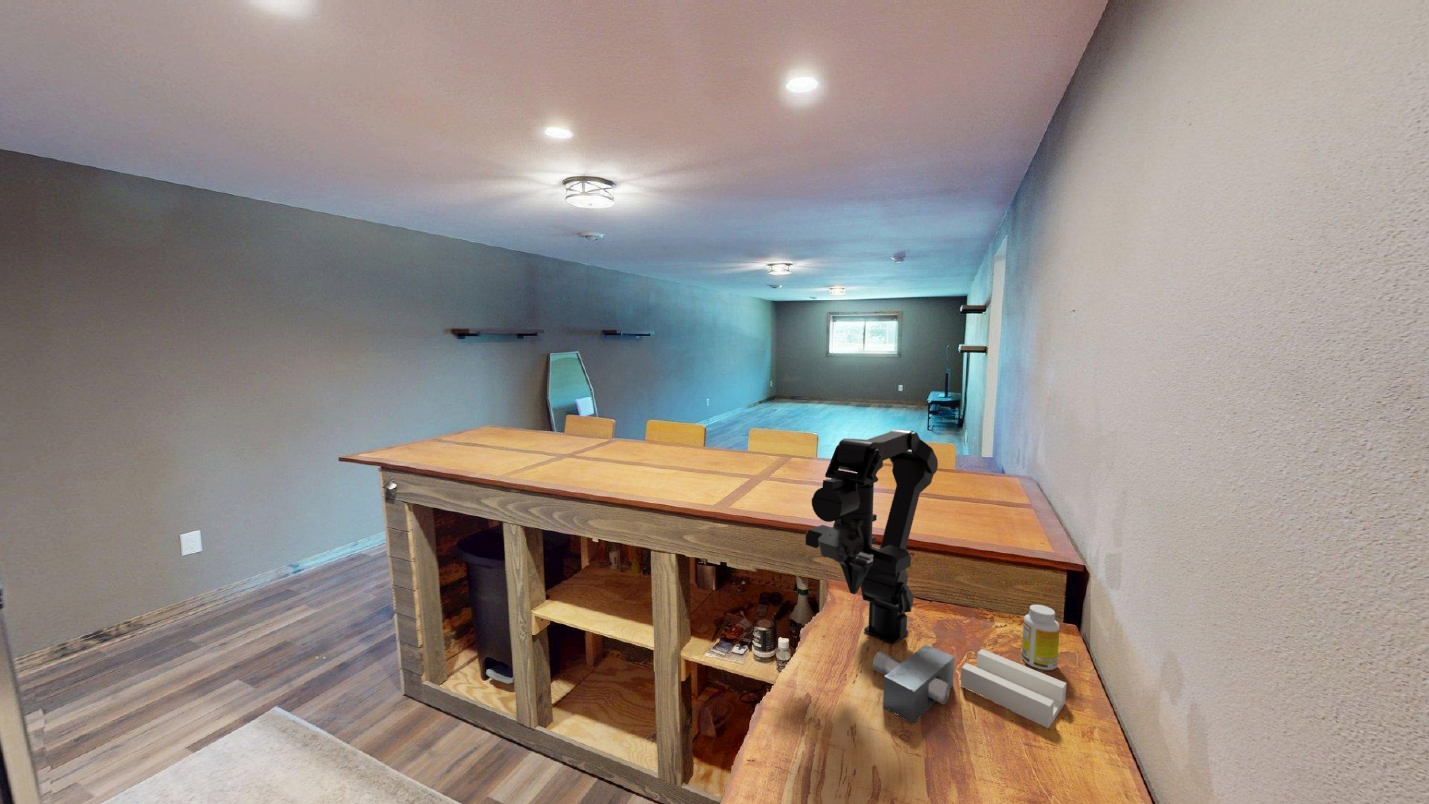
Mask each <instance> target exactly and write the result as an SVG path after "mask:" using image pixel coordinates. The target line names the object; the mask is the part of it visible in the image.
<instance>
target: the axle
mask: <svg viewBox="0 0 1429 804" xmlns="http://www.w3.org/2000/svg"><path fill="white" fill-rule="evenodd" d="M902 662H903V661H901V660H899V659H898V658H895V657H894V656H890V655H889V654H887V653H884V652H882V651H880V650H879V651H878V652H877V653H876V654H875V655H874V657H873V661H872V667H873V670H875V671H876V672H879V673H880V674H882V675H884V676H885V675H886V674H888V673H889V672H890V671H892V670H893V669H894V668H896V667H897V666H898V665H900V664H901V663H902ZM950 693H951V688H950V685H949V684H948V683H946V682H944V681H942V680H939V679H937V678H935V679H933V680H932V681H931V682H930V683H929V690H928V697H929V698H931V699H933V700H935V701H936V702H937V703H939V704H941V705H945V704H946V703H947V701H948V699H949V697H950Z"/></svg>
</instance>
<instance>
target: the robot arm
mask: <svg viewBox="0 0 1429 804" xmlns="http://www.w3.org/2000/svg"><path fill="white" fill-rule="evenodd" d="M888 459H889V461H890V462H891V464H892V469H891V472H892V475H893V478H894V481H895V484H896V486H895V490H894V494H893V498H892V501H891V505H890V508H889V509H890V510H889V513H888V517H887V520H886V525H885V528H884V532H883V534H882V535H883V536H882V539H881V542H880V547H876V546H873V544H875V543H876V542H877V538H876V536H874V535H873V522H875V521H877V520H878V519H877V517H878V516H877V514H874V492H875V491H874V490H875V489H874V488H875V486H874V485H875V483H877V482H878V481H879V478H878V476H877V474H878V471H880V470H881V469H882V468H883V467H884V461H886V460H888ZM938 466H939V462H938V458H937V455H936V454H935V451H934V449H933V448H932V446H930V445H929V444H927V443H926V442H924V441H923V440H922V439H921V438H920V436H919V434H918V433H917V432H915V431H914V430H909V429H908V430H907V429H898V428H895V429H891V430H890V431H889V432H886V433H883V434H880V435H877V436H874V437H871V438H868V439H863V438H862V439H861V438H842V439H841V440H840V441H839V442H838V445H836V447H835V448H834V452H833V453H832V457H831V459H830V462H829V464H828V466H827V469H826V472H825V474H824V476H825V478H827V479H823V481H822V487H819V488H817V490H816V491H814V493H813V495H812V498H811V507H812V511H813V512H814V514H815V515H816V516H817V518H819V520H822V521H823V522H826V523H833V522H834V523H833V525H832V526H828V525H825V524H821V525H817V526H816V527H813V528H810V529H808V530H807V531H806V533H805V535H804V536H805V537H804V544H805V545H806V546H808V547H812V548H815V549H819V550H820V555H821V557H823V558H828V559H832V560H834V561H835V562H836V563H838V564H839V565H840V568H841V570H842V571H843V575H844V578H845V581H846V585H847V588H848V591H849V593H850V594H852V595H856V594H857V593H858V591H859V590H861V597H862V600H863V601H867V602H869V603H868V604H869V606H868V625H867V626H866V627H864V629H863V631H864V632H865V633H867V634H869V635H871V636H874V637H876V638H879V640H883V641H885V642H887V643H889V644H890V645H891V644H895V643H897V641H900V640H901V639H902V638H904V637H905V636H907V635H908V634H909V630H908V629H907V628H908V615H907V614H906V613H910V612H912V607H913V604H914V598H915V597H914V594H913V592H912V591H911V589H910V588H909V586H908V578H909V576H908V571H907V569H909V568H910V567H911V566H912V564H911V563H912V556H911V554H910V553H909V551H908V550H907V546H908V542H909V538H910V534H911V530H912V526H913V522H914V518H915V514H916V511H917V506H918V502H919V498H920V494H921V493H922V492H923V491H924V490H925V489H927V487H928V486H930V485H931V483H932V481H933V478H934V475H935V474H936V472H937V470H938V468H939V467H938Z"/></svg>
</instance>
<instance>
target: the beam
mask: <svg viewBox="0 0 1429 804" xmlns="http://www.w3.org/2000/svg"><path fill="white" fill-rule="evenodd" d="M954 667H955V656H953V655H952V654H949V653H947V652H944V651H942V650H940V649H938V648H936V647H933V646H931V645H928V644H924V645H922V647H920V648H919V649H918V650H916V651H915V652H914V653H912V655H910V656H909V657H908V658H906V659H905V660H903V661H902V663H901V664H900V665H898V666H897V667H896V668H894V669H893V670H892V671H890V672H889V673H888V674H886V675H884V676H883V697H882V698H883V699H882V707H883V708H884V707H885V708H886V709H885V708H884V709H885V710H887V709H889V710H890V711H889V710H888V711H889V712H891V711H892V712H894V713H896V714H898V715H899V716H898V715H897V716H898V717H900V716H901V717H903V718H904V719H903V718H902V719H903V720H905V719H906V720H905V721H907V722H908V721H910V722H909V723H910V724H912V725H913V724H915V722H917V720H919V719H920V718H921V717H922V716H923V715H924V714H925V713H926V712H927V711H928V710H929V709H930V708H931V707H932V706H933V705H934V704H935V703H936V702H935V700H933V699H931V698H929V697H928V690H929V683H930V682H931V681H932V680H933V679H935V678H937V679H939V680H942V681H944V682H946V683H948V684H949V685H950V687H951V686H952V687H954V674H955V673H954V671H955V668H954ZM952 687H951V688H952ZM934 702H935V703H934ZM933 703H934V704H933ZM932 704H933V705H932ZM931 705H932V706H931ZM930 706H931V707H930ZM929 707H930V708H929ZM928 708H929V709H928ZM927 709H928V710H927ZM892 712H891V713H892ZM894 713H893V714H894ZM923 713H924V714H923ZM896 714H895V715H896ZM922 714H923V715H922ZM921 715H922V716H921ZM920 716H921V717H920ZM901 717H900V718H901ZM919 717H920V718H919ZM918 718H919V719H918Z"/></svg>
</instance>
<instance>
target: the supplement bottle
mask: <svg viewBox="0 0 1429 804" xmlns="http://www.w3.org/2000/svg"><path fill="white" fill-rule="evenodd" d="M1022 625H1023V626H1022V627H1023V628H1022V644H1021V646H1022V648H1021V649H1022V650H1021V656H1022V659H1023V661H1024V662H1025V663H1026V664H1027V665H1029V666H1031V667H1033V668H1034V669H1038V670H1042V671H1052V670H1055V669H1056V668H1058V663H1059V662H1058V660H1059V659H1058V658H1059V645H1060V644H1059V642H1060V624H1059V622H1058V621H1057V620H1056V612H1055V610H1054V609H1053V608H1051V607H1048V606H1046V605H1042V604H1031V605H1030V606H1029V611H1028V614H1025V616H1024V617H1023V624H1022Z"/></svg>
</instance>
